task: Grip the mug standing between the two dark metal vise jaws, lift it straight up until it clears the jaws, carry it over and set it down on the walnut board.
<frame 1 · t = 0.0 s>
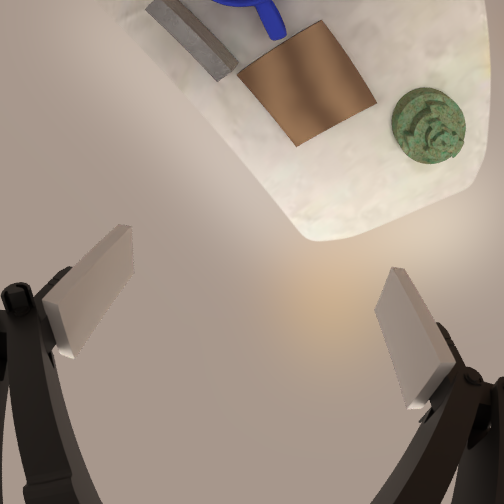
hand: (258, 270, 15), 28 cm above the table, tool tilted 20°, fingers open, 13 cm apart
decorative artifact: (425, 121, 34), on the table
walnut board: (308, 84, 33), on the table
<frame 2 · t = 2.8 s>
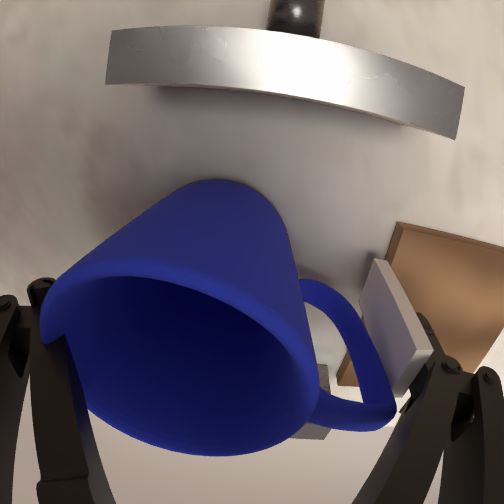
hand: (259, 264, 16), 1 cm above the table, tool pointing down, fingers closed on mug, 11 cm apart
vise jaws: (258, 251, 17), on the table
mug: (256, 249, 17), on the table, touching gripper
walnut board: (441, 319, 18), on the table
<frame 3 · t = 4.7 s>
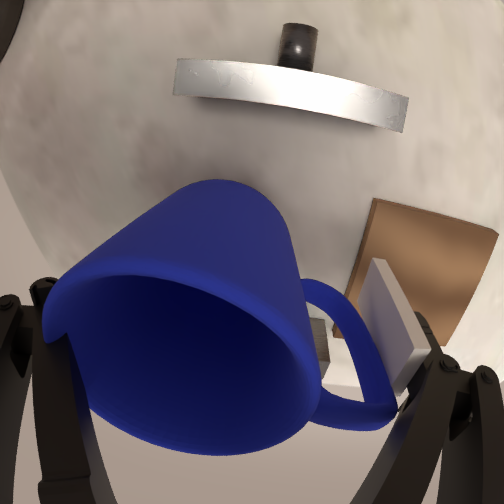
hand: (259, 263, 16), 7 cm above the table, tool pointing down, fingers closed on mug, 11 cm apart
vise jaws: (269, 219, 22), on the table
mug: (257, 249, 17), point 6 cm above the table, touching gripper
walnut board: (417, 281, 23), on the table
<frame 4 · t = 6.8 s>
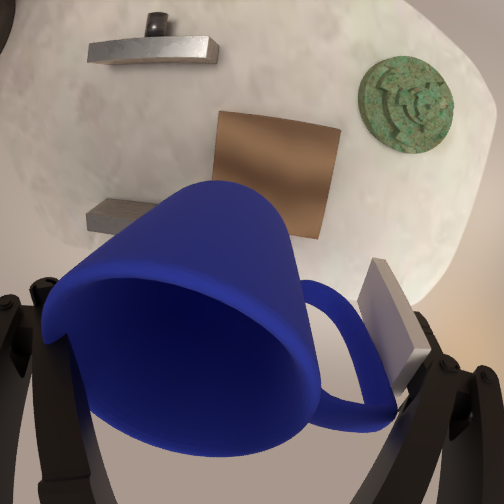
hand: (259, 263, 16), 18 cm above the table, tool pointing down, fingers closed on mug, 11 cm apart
vise jaws: (154, 134, 31), on the table
mug: (257, 250, 17), point 17 cm above the table, touching gripper
decorative artifact: (401, 103, 27), on the table
walnut board: (272, 174, 32), on the table
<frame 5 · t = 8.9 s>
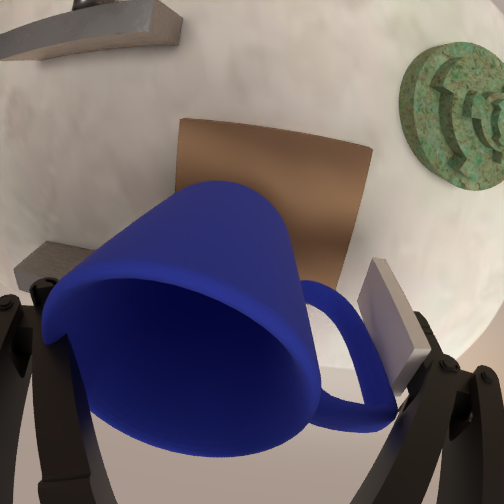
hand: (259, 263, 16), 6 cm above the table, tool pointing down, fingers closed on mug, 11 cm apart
vise jaws: (92, 155, 20), on the table
mug: (257, 250, 17), point 5 cm above the table, touching gripper
decorative artifact: (457, 112, 17), on the table
walnut board: (264, 216, 21), on the table
when the fingers open (3 cm above the table, at t = 10.6 s): mug drops 1 cm, resting on walnut board.
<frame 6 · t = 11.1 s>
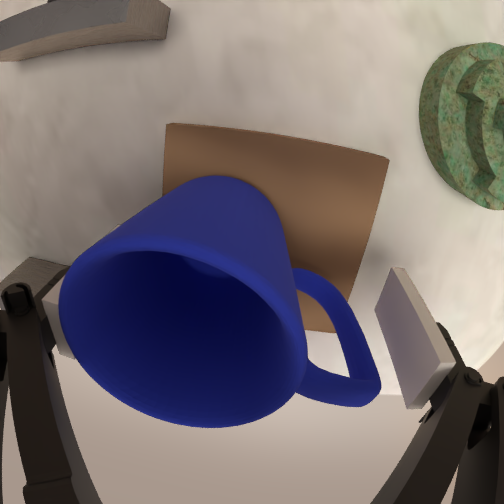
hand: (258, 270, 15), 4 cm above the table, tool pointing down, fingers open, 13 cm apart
vise jaws: (73, 165, 18), on the table
mug: (253, 240, 18), point 1 cm above the table, touching gripper, walnut board
decorative artifact: (481, 121, 14), on the table
walnut board: (263, 234, 19), on the table
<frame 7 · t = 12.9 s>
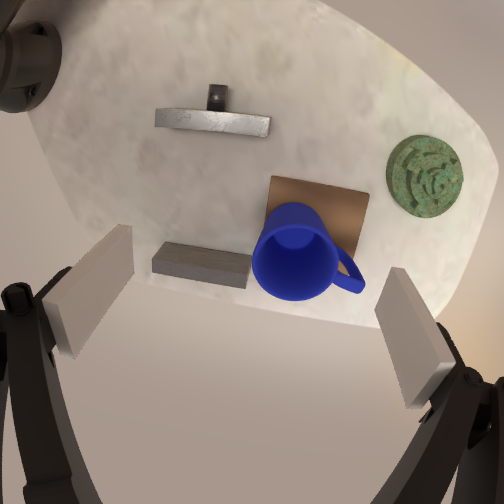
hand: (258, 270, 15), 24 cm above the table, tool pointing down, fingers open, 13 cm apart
vise jaws: (212, 191, 38), on the table
mug: (307, 232, 38), point 1 cm above the table, touching walnut board
decorative artifact: (420, 173, 34), on the table
walnut board: (311, 229, 39), on the table
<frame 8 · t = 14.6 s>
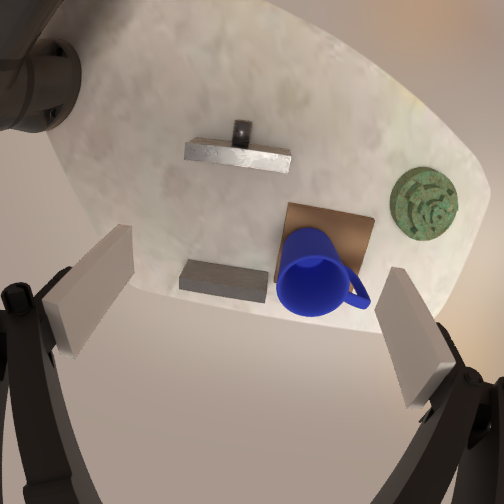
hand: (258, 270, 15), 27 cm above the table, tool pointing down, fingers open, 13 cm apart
vise jaws: (233, 215, 42), on the table
mug: (319, 252, 43), point 1 cm above the table, touching walnut board
decorative artifact: (420, 200, 39), on the table
walnut board: (322, 249, 44), on the table
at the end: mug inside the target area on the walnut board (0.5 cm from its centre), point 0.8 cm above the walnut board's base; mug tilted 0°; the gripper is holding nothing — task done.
